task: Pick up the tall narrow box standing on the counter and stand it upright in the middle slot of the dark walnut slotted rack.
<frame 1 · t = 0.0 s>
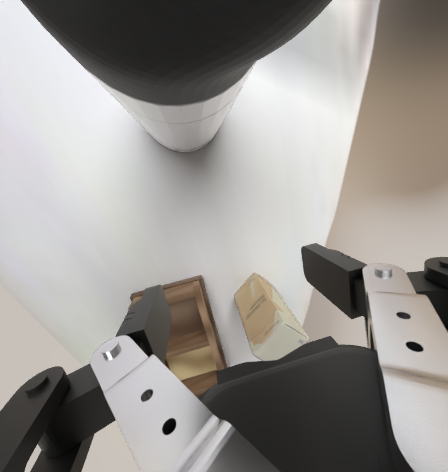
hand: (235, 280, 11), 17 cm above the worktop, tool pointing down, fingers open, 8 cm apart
rack: (190, 353, 33), on the worktop
box: (252, 290, 32), on the worktop
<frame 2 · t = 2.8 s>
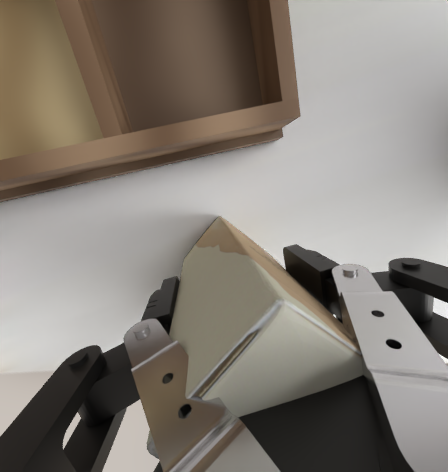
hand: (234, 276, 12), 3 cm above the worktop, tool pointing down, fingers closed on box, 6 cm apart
rack: (34, 92, 11), on the worktop
box: (225, 256, 15), on the worktop, touching gripper
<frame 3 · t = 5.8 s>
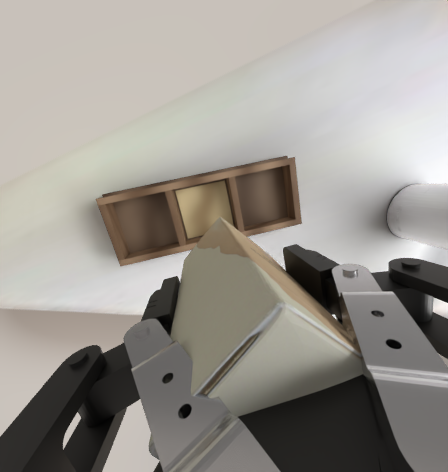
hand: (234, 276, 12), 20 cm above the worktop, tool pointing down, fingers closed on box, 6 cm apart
rack: (205, 209, 31), on the worktop
box: (225, 257, 15), point 17 cm above the worktop, touching gripper
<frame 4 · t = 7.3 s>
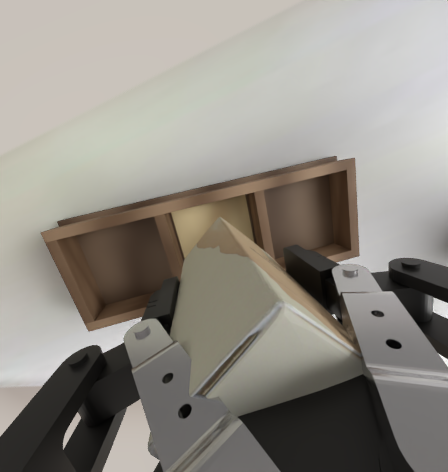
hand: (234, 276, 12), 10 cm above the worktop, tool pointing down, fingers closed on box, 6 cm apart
rack: (215, 235, 21), on the worktop
box: (225, 257, 15), point 6 cm above the worktop, touching gripper
when the fingers open (5 cm above the worktop, at t = 8.8 s): box stays where it is, resting on rack.
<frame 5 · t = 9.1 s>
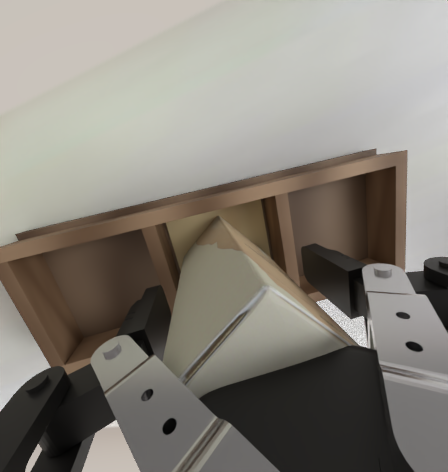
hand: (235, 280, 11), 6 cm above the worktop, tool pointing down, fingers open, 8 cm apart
rack: (222, 249, 17), on the worktop
box: (223, 254, 16), point 1 cm above the worktop, touching rack
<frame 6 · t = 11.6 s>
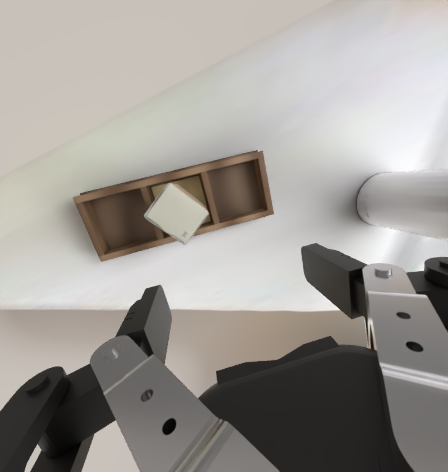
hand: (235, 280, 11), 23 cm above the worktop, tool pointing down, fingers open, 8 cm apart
rack: (182, 204, 32), on the worktop
box: (182, 205, 31), point 1 cm above the worktop, touching rack
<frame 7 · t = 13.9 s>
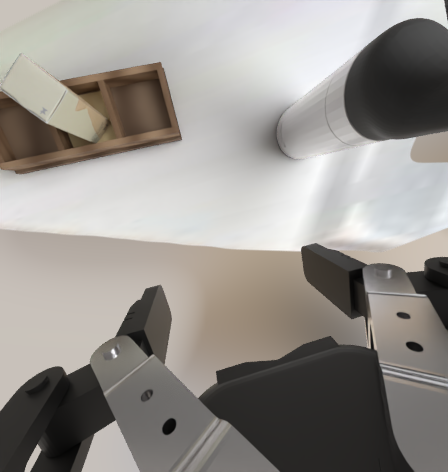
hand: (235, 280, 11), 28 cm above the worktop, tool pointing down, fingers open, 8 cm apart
rack: (92, 123, 32), on the worktop
box: (88, 121, 31), point 1 cm above the worktop, touching rack
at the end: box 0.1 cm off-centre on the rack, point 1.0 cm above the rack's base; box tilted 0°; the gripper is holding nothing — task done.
